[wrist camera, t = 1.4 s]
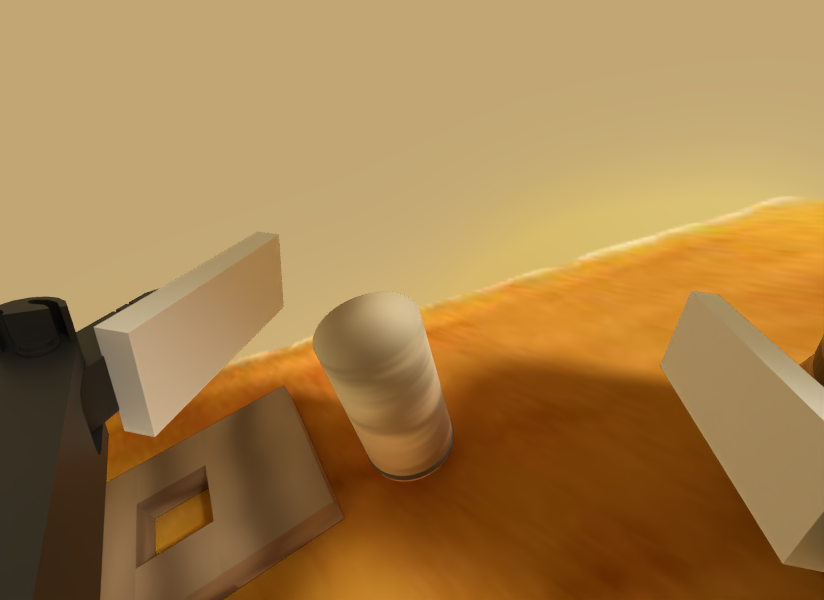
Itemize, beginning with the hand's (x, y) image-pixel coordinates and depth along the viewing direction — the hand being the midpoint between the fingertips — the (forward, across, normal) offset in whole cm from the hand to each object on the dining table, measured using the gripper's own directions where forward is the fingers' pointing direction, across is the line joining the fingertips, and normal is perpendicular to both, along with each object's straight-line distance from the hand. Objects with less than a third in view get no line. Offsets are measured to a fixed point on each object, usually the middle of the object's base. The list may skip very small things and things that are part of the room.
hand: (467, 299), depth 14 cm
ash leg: (+12, -2, -21) cm, 24 cm away
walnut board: (+7, -19, -27) cm, 33 cm away
